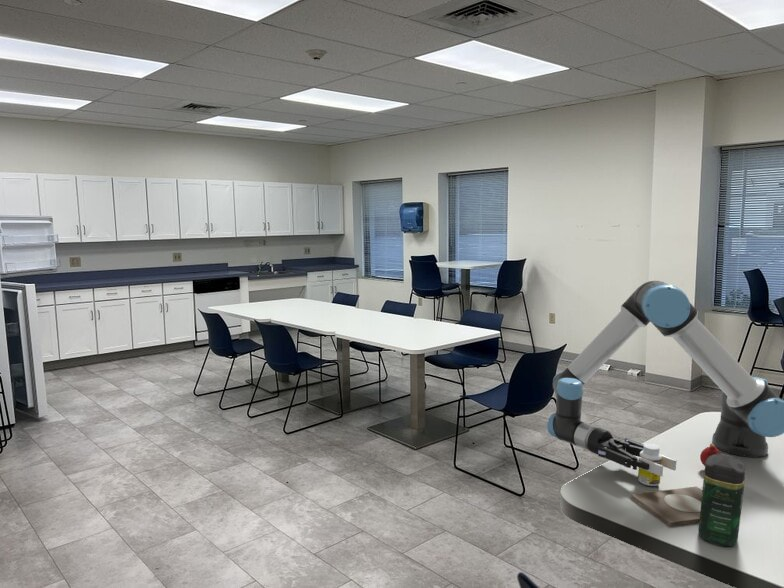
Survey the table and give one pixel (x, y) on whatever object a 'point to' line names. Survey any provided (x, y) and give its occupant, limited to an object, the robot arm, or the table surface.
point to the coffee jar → (721, 499)
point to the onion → (708, 453)
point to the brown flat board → (673, 505)
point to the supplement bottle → (652, 455)
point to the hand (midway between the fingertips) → (668, 468)
